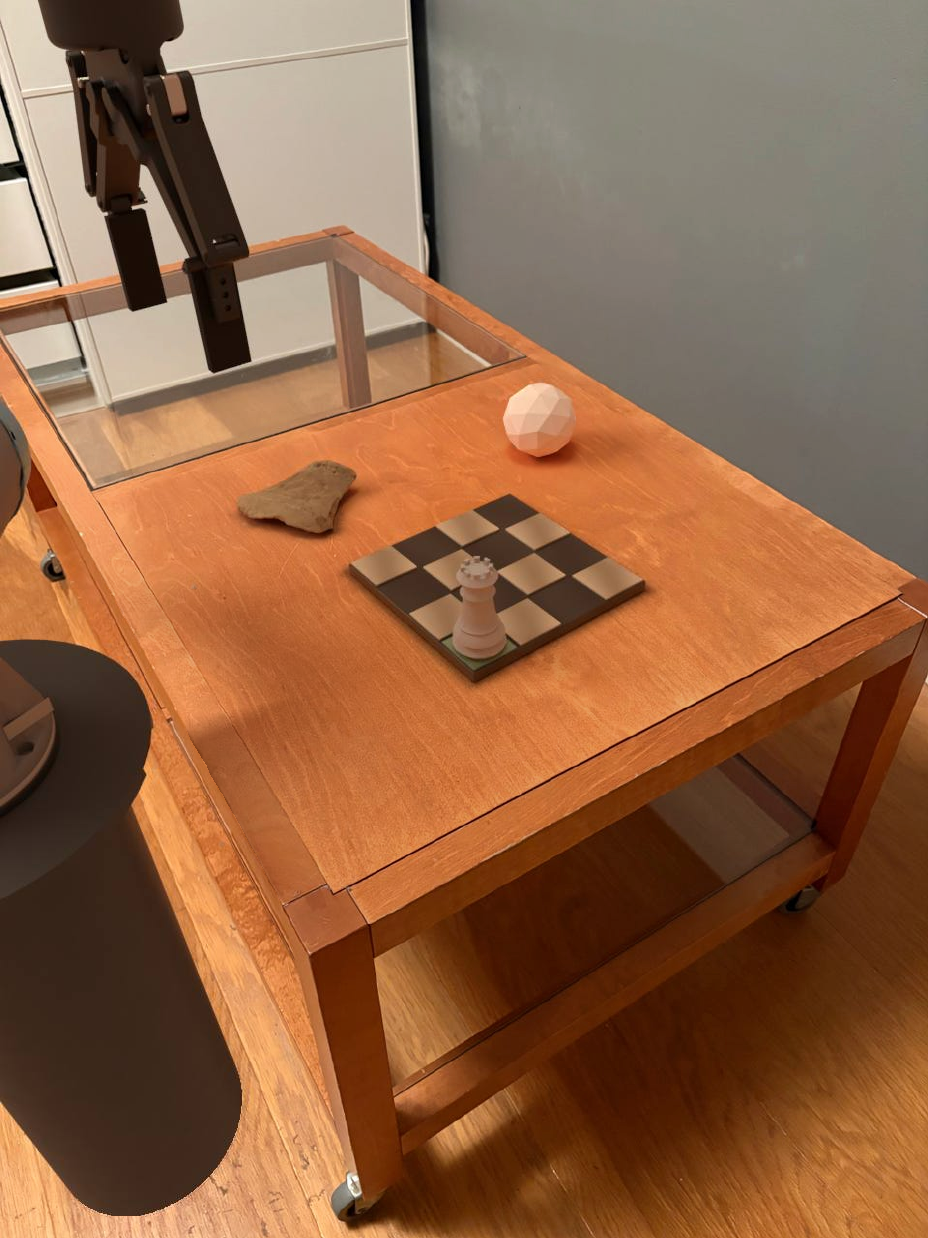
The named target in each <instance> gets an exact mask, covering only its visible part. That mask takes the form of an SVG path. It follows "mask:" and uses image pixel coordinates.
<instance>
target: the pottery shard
mask: <svg viewBox="0 0 928 1238" xmlns="http://www.w3.org/2000/svg"><path fill="white" fill-rule="evenodd" d="M357 476H358V475H357V472H356V471H355V470H354V469H352V468H350V467H349V466H347V465H344V464H342V463H339V462H337V461H334V460H330V459H323V460H319V461H318V460H315V461H313V462H311V463H309V464H307V465H306V466H304V467H303V468H301V469H300V470H299V471H297V472H295V473H293V474H292V475H291V476H288V477H287V478H285V479H283V480H281V481H280V482H277V483H275V484H274V485H271V486H269V487H267V488H265V489H262V490H260V491H257V492H252V493H246V494H242V495H239V496H238V497H237V500H236V507H237V511H239V513H242V514H243V515H244V516H245V517H248V518H250V519H252V520H263V519H270V520H271V519H275V520H280V522H284V523H285V524H286V526H291V527H293V528H296V529H301V530H304V531H305V532H308V533H315V534H321V533H323V532H325V531H328V530H331V529H334V525H333V524H334V518H335V516H336V514H337V511H338V507H339V504H340V501H342V499H343V497H344V496H345V495H346V494H347V493H348V490H349V488H350V487H351V486H352V484H353V483H354V482H355V481H356V479H357Z"/></svg>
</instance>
